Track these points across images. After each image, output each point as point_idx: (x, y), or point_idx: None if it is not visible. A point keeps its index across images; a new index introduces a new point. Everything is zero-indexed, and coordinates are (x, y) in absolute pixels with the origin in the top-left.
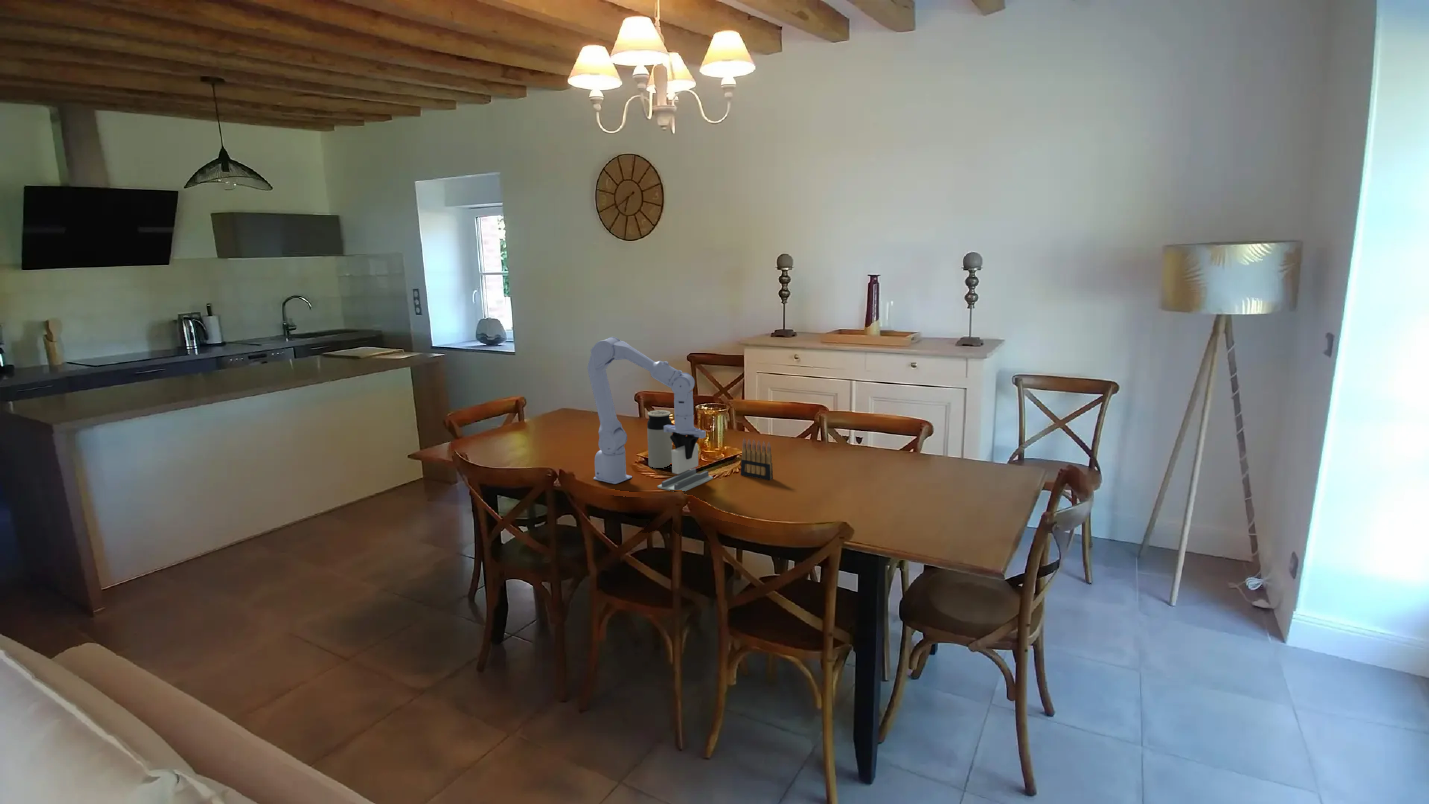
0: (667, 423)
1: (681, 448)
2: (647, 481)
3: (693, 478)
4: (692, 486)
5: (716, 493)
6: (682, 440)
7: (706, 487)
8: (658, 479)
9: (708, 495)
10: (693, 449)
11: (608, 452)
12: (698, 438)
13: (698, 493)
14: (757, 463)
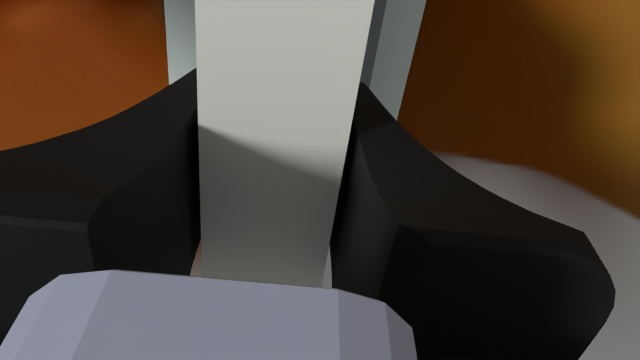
0: None
1: (265, 271)
2: (11, 91)
3: (381, 24)
4: (404, 82)
5: (615, 103)
6: (161, 235)
7: (505, 19)
8: (35, 13)
9: (565, 155)
10: (405, 135)
11: None
12: (569, 232)
13: (487, 150)
14: None
